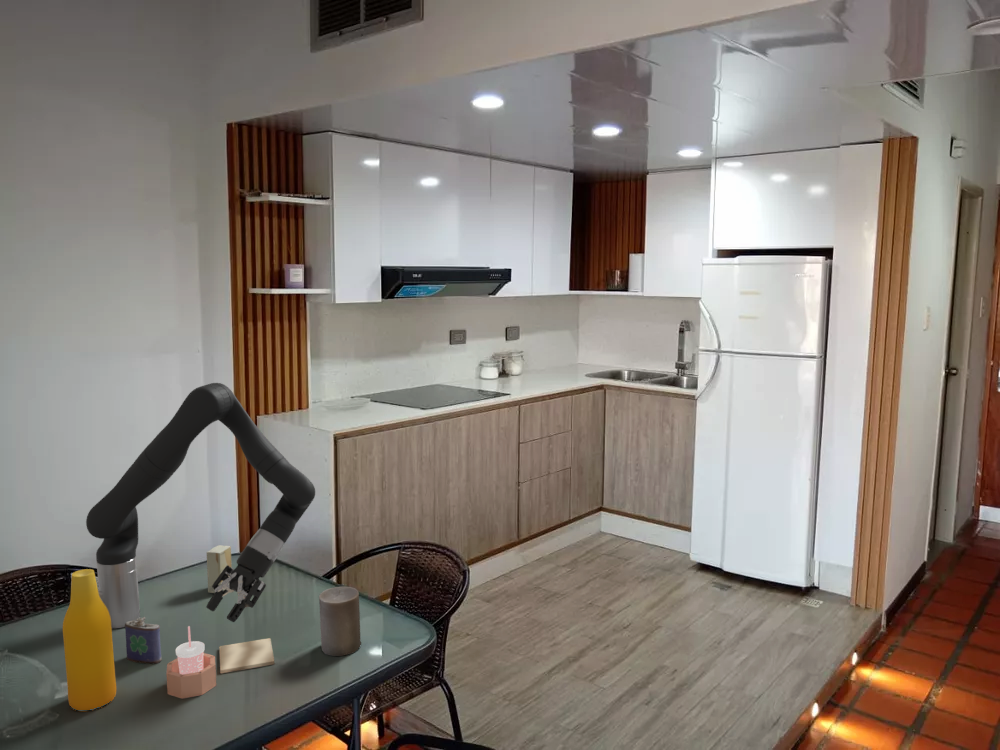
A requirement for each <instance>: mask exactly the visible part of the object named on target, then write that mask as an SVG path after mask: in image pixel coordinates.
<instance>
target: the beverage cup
mask: <svg viewBox="0 0 1000 750" xmlns="http://www.w3.org/2000/svg"><path fill="white" fill-rule="evenodd" d="M187 637H188V638H187V639H188V641H186V642H184V643H181V644H180V645H178V646H177V647H176V648H175V656H177V657H176V658H178V665H179V672H180V674H182V675H183V674H189V673H195V672H199V671H201V670H203V663H204V653H205V650H206V649H205V645H206V644H205V643H204V642H202V641H199V640H197V641H196V640H192V638H191V637H192V636H191V626H190V625H188V626H187Z"/></svg>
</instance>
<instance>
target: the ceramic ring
mask: <svg viewBox="0 0 1000 750" xmlns="http://www.w3.org/2000/svg"><path fill="white" fill-rule="evenodd" d="M216 669H217V667H216V656H215V655H212V654H209V653H206V652H204V663H203V670H201V671H199V672H195V673H189V674H183V675H182V674H180V672H179V665H178V657H176V658H175V659H173V660H172V661H171V660H170V662H168V663H167V665H166V672H165V673H166V688H167V690H166V691H167V695H169V696H173V697H176V698H178V699H188V698H193V697H197V696H198V697H199V696H202V695H204V694H206V693H207V692H208V691H210V690H212V689H214V687H217V671H216Z"/></svg>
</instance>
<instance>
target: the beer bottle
mask: <svg viewBox="0 0 1000 750" xmlns="http://www.w3.org/2000/svg"><path fill="white" fill-rule="evenodd" d="M97 583H98V582H97V578H96V574H95V570H94V569H91V568H89V569H88V568H86V569H83V568H82V569H79V570H76V571H73V572H72V573H71V583H70V585H71V586H70V599H69V600H70V601H69V605H68V608H67V610H66V612H65V615H64V617H63V620H62V636H63V648H64V649H63V650H64V660H65V661H64V662H65V673H66V682H67V685H66V687H67V699H68V704H69V707H70V706H71V707H72V708H74V709H76V710H90V709H94V708H97V707H101V706H103V705H105V704H107V703H109V702H110V701H111V702H112V701H113V700H114V699H115V698H116V695H117V681H116V667H115V658H114V657H115V656H114V645H113V644H114V643H113V628H112V627H111V617H110V614H109V611H108V609H107V607H106V606H105V604H104V603H103V601H102V600H101V598H100V596H99V592H98V591H99V587H98V584H97ZM114 697H115V698H114ZM111 702H110V703H111ZM110 703H109V704H110ZM107 705H108V704H107ZM71 707H70V708H71ZM72 708H71V709H72ZM101 708H102V707H101ZM74 709H73V710H74ZM76 710H75V711H76Z"/></svg>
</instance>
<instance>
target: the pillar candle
mask: <svg viewBox="0 0 1000 750" xmlns="http://www.w3.org/2000/svg"><path fill="white" fill-rule="evenodd" d="M318 600H319V619H320V621H319V623H320V642H321V650H322V652H323V653H324V654H325V655H328V656H332V657H341V656H347V655H351V654H353V653H355V651H356V650H357V651H358V648H359V647H360V645H361V646H362V642H361V641H362V640H361V619H360V618H361V615H360V614H361V613H360V612H361V611H360V593H359V590H357V588H355V587H351V586H335V587H331V588H326V589H325V590H323V591H322V592H320V593H319V595H318ZM360 648H361V647H360ZM360 648H359V649H360ZM357 651H356V652H357Z"/></svg>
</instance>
